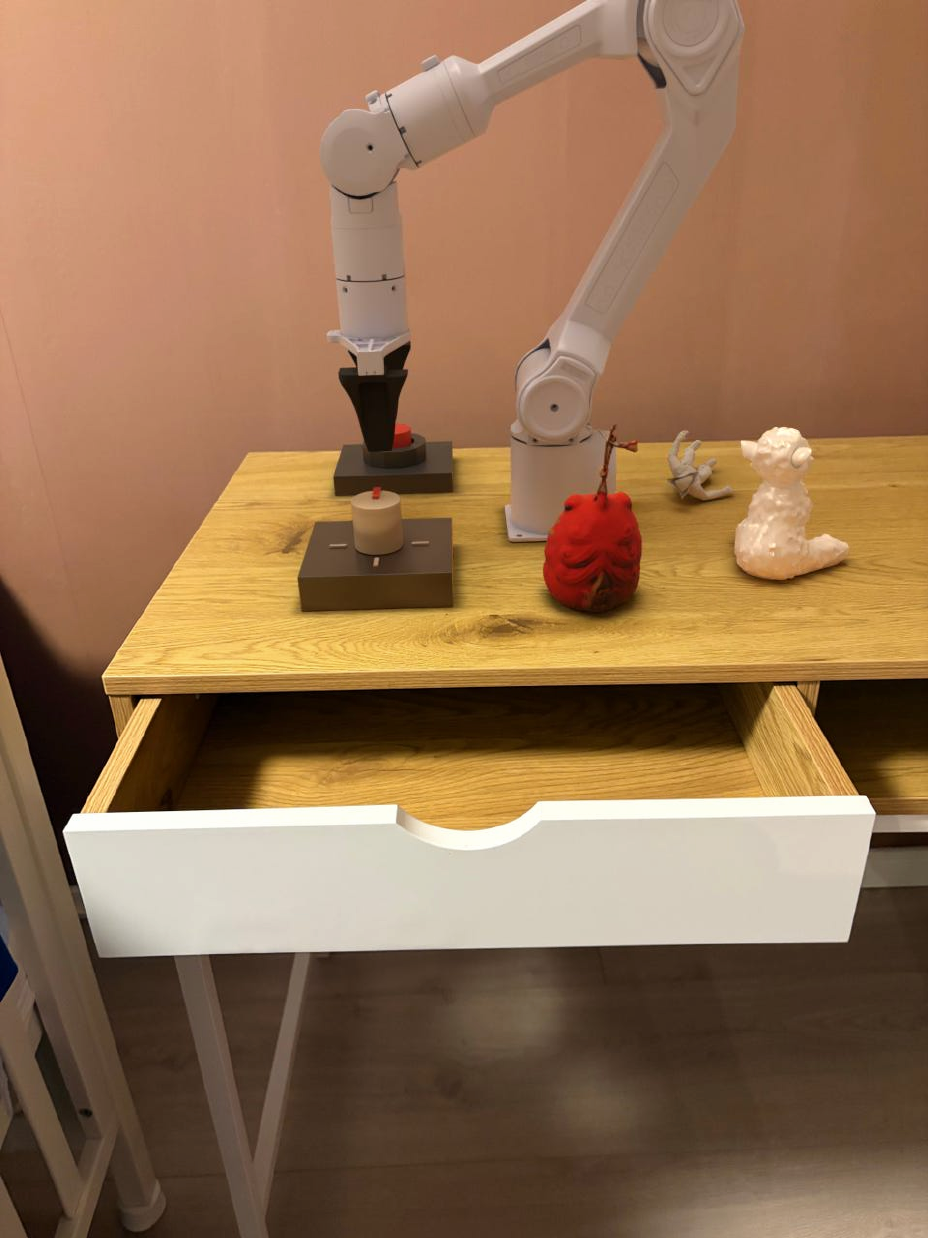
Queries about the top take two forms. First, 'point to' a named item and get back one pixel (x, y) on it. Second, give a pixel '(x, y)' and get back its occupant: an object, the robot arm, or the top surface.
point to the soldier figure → (691, 472)
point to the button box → (396, 468)
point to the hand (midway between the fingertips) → (382, 436)
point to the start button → (402, 436)
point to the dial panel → (378, 569)
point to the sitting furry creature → (781, 512)
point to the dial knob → (377, 522)
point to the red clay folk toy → (595, 546)
